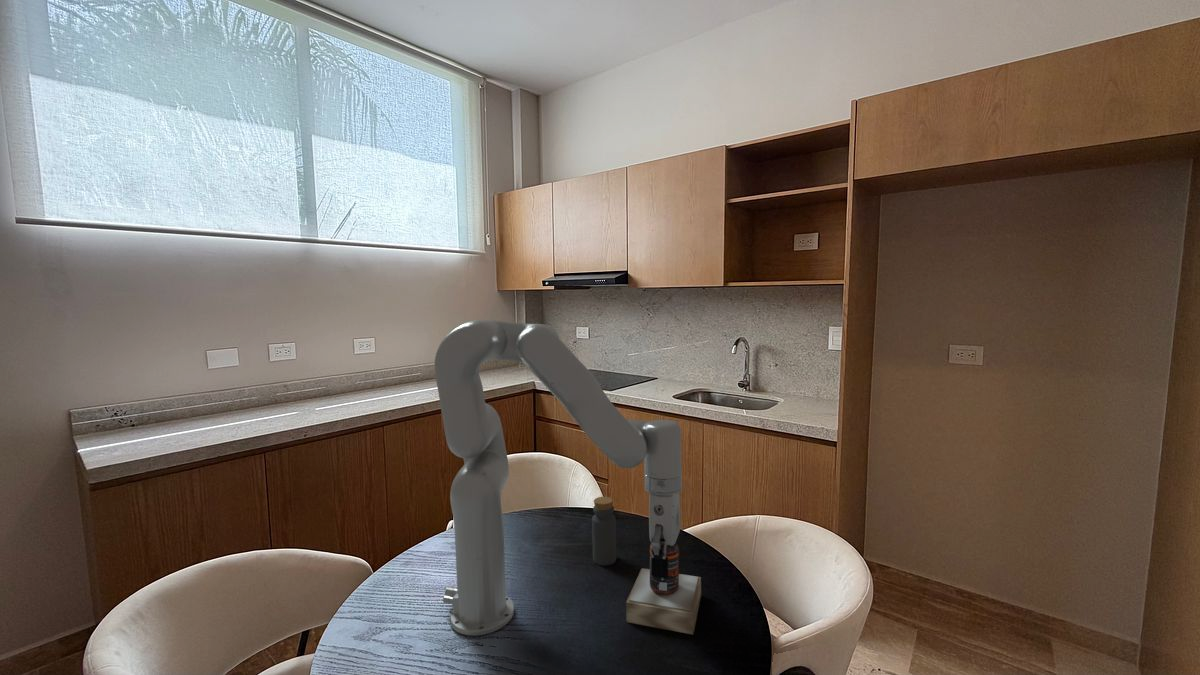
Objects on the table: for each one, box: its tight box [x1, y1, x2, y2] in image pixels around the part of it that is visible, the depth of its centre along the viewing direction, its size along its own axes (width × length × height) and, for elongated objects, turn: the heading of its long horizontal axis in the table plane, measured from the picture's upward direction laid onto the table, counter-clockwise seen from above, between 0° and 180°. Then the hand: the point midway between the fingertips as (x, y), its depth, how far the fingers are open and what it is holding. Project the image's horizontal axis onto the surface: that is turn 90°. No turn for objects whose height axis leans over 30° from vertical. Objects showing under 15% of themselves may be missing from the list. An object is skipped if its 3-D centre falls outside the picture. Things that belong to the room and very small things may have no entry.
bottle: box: [591, 496, 617, 566], centre depth 117 cm, size 6×6×15 cm
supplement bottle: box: [649, 539, 680, 595], centre depth 97 cm, size 6×6×11 cm
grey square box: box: [625, 567, 702, 635], centre depth 98 cm, size 13×13×4 cm
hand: (664, 564), depth 97 cm, fingers open, 9 cm apart
